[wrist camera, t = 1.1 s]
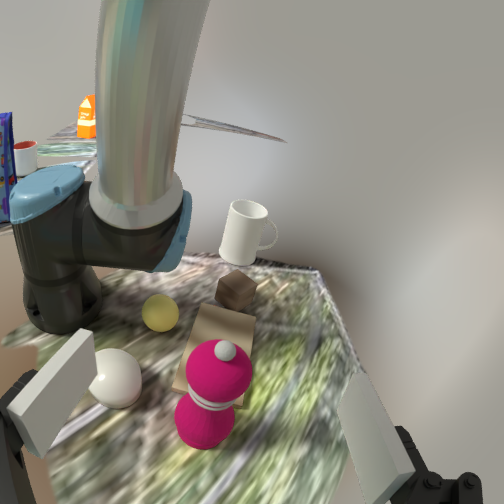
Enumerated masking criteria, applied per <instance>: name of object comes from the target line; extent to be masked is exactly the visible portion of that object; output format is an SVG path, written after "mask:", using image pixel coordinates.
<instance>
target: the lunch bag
mask: <svg viewBox="0 0 504 504" xmlns="http://www.w3.org/2000/svg"><path fill="white" fill-rule="evenodd" d="M16 184H17V175H16V166H15V155H14V138H13V128H12V112H9V113H1V114H0V223H2V222H8V221H10V206H9V197H10V193H11V191H12V189H13V188H14V186H15V185H16Z"/></svg>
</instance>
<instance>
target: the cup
mask: <svg viewBox="0 0 504 504" xmlns="http://www.w3.org/2000/svg"><path fill="white" fill-rule="evenodd" d="M14 155H15V166H16V175H17V176H18V177H23V176H28V175H30V174H32V173H34V172H35V171H36V170H37V168H38V162H37V142H35V141H24V142H20V143H17V144H15V145H14Z"/></svg>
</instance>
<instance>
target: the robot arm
mask: <svg viewBox="0 0 504 504" xmlns="http://www.w3.org/2000/svg"><path fill="white" fill-rule="evenodd" d="M209 2H210V0H101V8H100V16H99V24H98V36H97V48H96V66H95V126H96V146H97V159H98V171H99V173H98V174H97V176H95V178H94V180H93V181H92V182H89V181H84V180H85V175H84V173H83V170H82V169H81V168H80V167H76V166H75V165H57V166H52V167H48V168H44V169H41V170H38V171H36V172H34V173H32V174H30V175H28V176H26V177H25V178H23V179H22V180H20V181H19V182H18V183H17V184H16V185H15V186H14V188H13V189H12V191H11V193H10V197H9V206H10V221H11V223H12V228H13V232H14V237H15V241H16V246H17V250H18V254H19V258H20V262H21V265H22V269H23V273H24V284H23V302H24V307H25V310H26V312H27V315H28V317H29V319H30V321H31V322H32V323H33V324H34V325H35V326H36V327H38V328H39V329H41V330H43V331H45V332H49V333H54V334H65V333H71V332H74V331H77V330H78V331H77V332H76V333H75V334H74V335H73V336H72V337H71V338H70V339H69V340H68V341H67V342H66V343H65V344H64V345H63V346H62V347H61V348H60V349H59V351H58V352H57V353H56V354H55V355H54V356H53V357H52V358H51V359H50V360H49V361H48V362H47V363H46V364H45V365H44V366H43V367H42V369H41V370H40V371H39V372H38V371H36V370H34V369H32V370H30V371H28V372H26V373H24V374H23V375H22V376H21V377H20V378H19V379H18V381H17V382H15V383H14V385H13V387H11V388H10V389H9V390H8V391H7V392H6V393H5V394H4V395H3V396H2V398H1V399H0V504H36V501H35V498H34V495H33V491H32V488H31V485H30V481H29V478H28V474H27V470H26V466H25V462H24V457H23V453H22V451H21V447H22V446H23V444H24V445H25V447H26V448H27V450H28V452H30V453H31V454H33V455H35V456H37V457H39V458H41V459H43V458H44V456H45V454H46V453H47V451H48V449H49V448H50V446H51V444H52V443H53V441H54V440H55V438H56V436H57V435H58V433H59V432H60V430H61V428H62V427H63V425H64V424H65V422H66V421H67V419H68V418H69V416H70V415H71V413H72V411H73V410H74V408H75V407H76V405H77V404H78V402H79V401H80V399H81V398H82V396H83V395H84V393H85V392H86V390H87V389H88V387H89V386H90V385H91V383H92V382H93V380H94V379H95V377H96V376H97V374H98V372H97V364H96V356H95V348H94V338H93V332H92V331H88V330H85V329H82V328H83V327H85V326H87V325H88V324H89V323H90V322H92V321H93V320H94V318H95V317H96V316H97V315H98V313H99V311H100V309H101V306H102V290H101V285H100V282H99V280H98V278H97V276H96V274H95V272H94V270H93V269H92V267H91V266H100V267H109V268H119V269H129V270H139V271H145V272H147V273H153V272H170V271H172V270H174V269H175V268H176V267H177V266H178V264H179V263H180V260H181V258H182V255H183V252H184V248H185V245H186V237H187V234H188V231H189V227H190V220H191V212H192V197H191V194H190V193H189V192H188V191H185V190H183V187H182V183H181V180H180V178H179V176H178V175H177V174H176V173H175V172H174V171H173V170H174V163H175V156H176V150H177V143H178V137H179V132H180V126H181V120H182V115H183V109H184V104H185V99H186V94H187V89H188V85H189V80H190V76H191V71H192V67H193V62H194V58H195V54H196V50H197V46H198V42H199V38H200V34H201V30H202V27H203V23H204V19H205V16H206V12H207V9H208V6H209ZM337 414H338V417H339V420H340V423H341V426H342V429H343V433H344V436H345V439H346V442H347V445H348V448H349V451H350V454H351V458H352V461H353V464H354V467H355V470H356V474H357V477H358V480H359V483H360V487H361V490H362V493H363V497H364V500H365V503H366V504H385V503H386V502H387V501H388V500H389V499H390V501H391V504H483V497H482V485H481V480H480V479H479V477H478V476H477V475H475V474H474V473H471V472H465V473H464V474H462V475H461V476H460V477H459V478H458V479H457V480H452V479H451V480H450V479H446V480H445V479H442V477H441V476H440V475H439V474H436V473H435V472H430V471H428V469H427V467H426V465H425V463H424V461H423V459H422V457H421V455H420V453H419V451H418V449H416V446H415V444H414V442H413V440H412V438H411V436H410V434H409V432H407V431H406V430H405V429H404V428H403V427H402V426H394V425H393V423H392V422H391V420H390V418H389V416H388V414H387V412H386V410H385V408H384V406H383V404H382V402H381V400H380V398H379V396H378V394H377V392H376V390H375V389H374V387H373V385H372V383H371V381H370V379H369V377H368V375H367V373H353V374H352V377H351V379H350V381H349V384H348V386H347V388H346V391H345V393H344V395H343V398H342V400H341V402H340V404H339V406H338V409H337Z"/></svg>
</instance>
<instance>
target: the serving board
mask: <svg viewBox="0 0 504 504" xmlns="http://www.w3.org/2000/svg"><path fill="white" fill-rule="evenodd" d="M255 323H256V317H255V316H251V315H247V314H243V313H239V312H236V311H232V310H228V309H225V308H221V307H217V306H214V305H210V304H206V303H203V302H201V305H200V308H199V311H198V313H197V316H196V319H195V322H194V325H193V327H192V330H191V333H190V336H189V339H188V342H187V345H186V347H185V350H184V353H183V356H182V359H181V362H180V365H179V368H178V371H177V373H176V376H175V379H174V382H173V385H172V391H173V392H176V393H180V394H183V395H186V394H187V393H188V392H189V390H188V381H187V378H186V371H185V370H186V363H187V360H188V357H189V355H190V354H191V352H192V351H193V350H194V349H195V348H196V347H197V346H198V345H200V344H201V343H203V342H205V341H208V340H214V339H222V340H228V341H230V342H232V343H234V344H236V345H238V346H239V347H241V348H242V349H243V350H244V351H245V352H246V354H247V355H248V357H249V359H250V355H251V348H252V342H253V336H254V329H255ZM243 399H244V393H243V394H242V395H241V396H240V397H239V398H237V399H236V401H235V402H234V404H232V407H233V408H238V409H241V407H242V405H243Z"/></svg>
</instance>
